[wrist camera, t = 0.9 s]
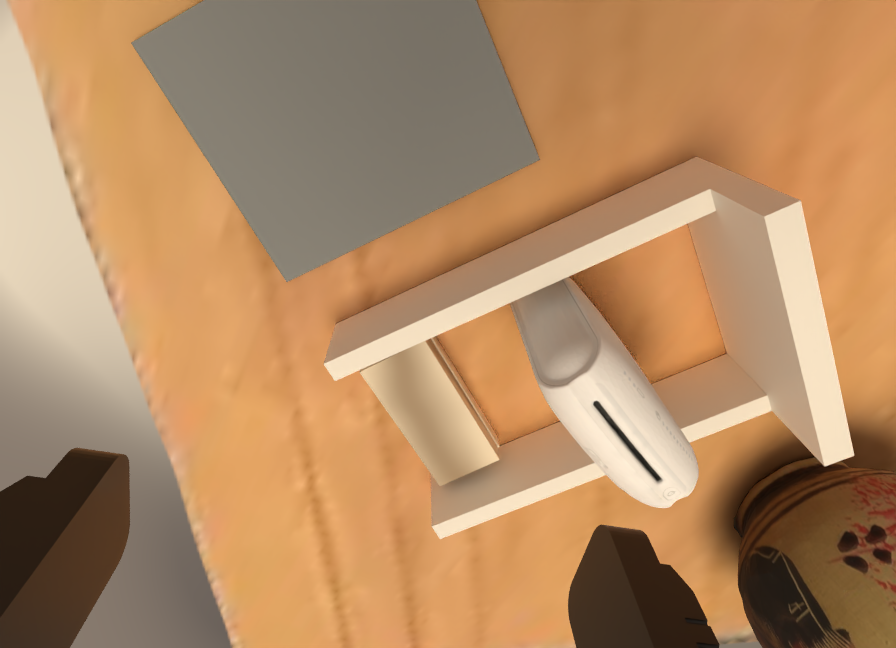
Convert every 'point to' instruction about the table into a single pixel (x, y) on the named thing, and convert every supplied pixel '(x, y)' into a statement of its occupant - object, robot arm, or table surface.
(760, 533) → the ceramic jug
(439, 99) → the mat
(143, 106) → the table surface
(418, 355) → the offcut stack
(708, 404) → the rack
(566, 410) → the photo printer
